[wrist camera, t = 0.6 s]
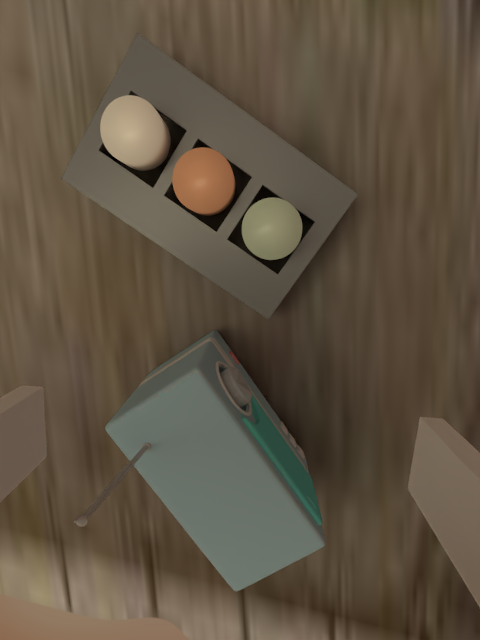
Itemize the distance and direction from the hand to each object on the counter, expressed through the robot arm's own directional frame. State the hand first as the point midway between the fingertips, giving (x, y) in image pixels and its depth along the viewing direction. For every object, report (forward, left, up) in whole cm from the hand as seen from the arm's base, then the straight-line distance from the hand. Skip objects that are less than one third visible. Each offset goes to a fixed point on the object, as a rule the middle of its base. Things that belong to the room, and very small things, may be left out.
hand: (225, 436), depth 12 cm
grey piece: (-9, +8, -22) cm, 25 cm away
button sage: (-3, +8, -18) cm, 20 cm away
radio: (+4, -8, -22) cm, 24 cm away
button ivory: (-15, +8, -18) cm, 24 cm away
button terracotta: (-9, +8, -18) cm, 21 cm away
